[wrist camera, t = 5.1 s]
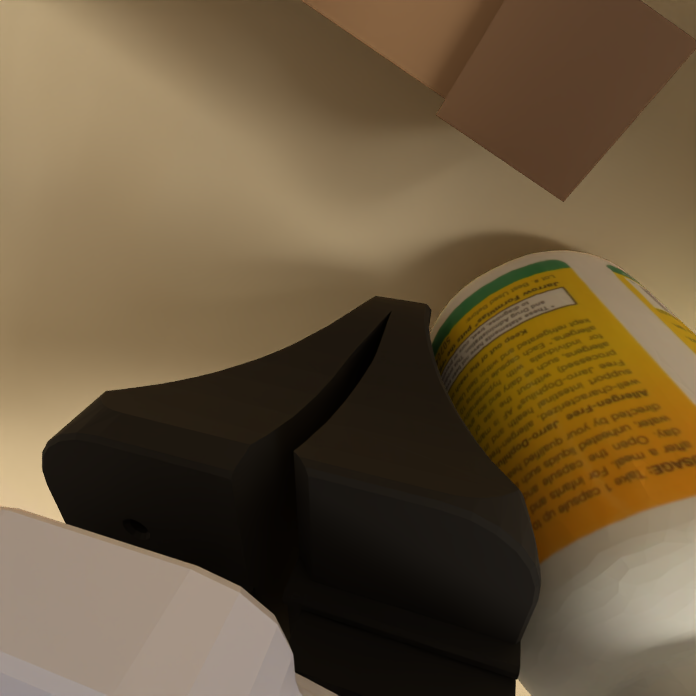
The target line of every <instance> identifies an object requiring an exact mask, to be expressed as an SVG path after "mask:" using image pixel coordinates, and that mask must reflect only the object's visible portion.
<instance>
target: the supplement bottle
mask: <svg viewBox="0 0 696 696" xmlns="http://www.w3.org/2000/svg"><path fill="white" fill-rule="evenodd" d="M430 339H431V344H432V348H433V353H434V357H435V360H436V363H437V366H438V369H439V372H440V375H441V378H442V381H443V383H444V385H445V388H446V390H447V392H448V394H449V396H450V398H451V401H452V402H453V404H454V406H455V408H456V410H457V412H458V414H459V415H460V417H461V419H462V420H463V422H464V423H465V425H466V426H467V428H468V429H469V431H470V432H471V434H472V435H473V437H474V438H475V440H476V441H477V443H478V444H479V445H480V447H481V448H482V449H483V451H484V452H485V453H486V454H487V456H488V457H489V458H490V459H491V460H492V462H493V463H494V464H495V465H496V466H497V467H498V468H499V469H500V470H501V471H502V472H503V473H504V474H505V475H506V476H507V477H508V478H509V479H510V480H511V481H512V482H513V483H514V484H515V485H516V486H517V487H518V488H519V489H520V491H521V492H522V493H523V496H524V499H525V503H526V506H527V509H528V513H529V516H530V520H531V524H532V528H533V532H534V536H535V540H536V545H537V551H538V557H539V564H540V572H541V587H540V594H539V599H538V602H537V605H536V607H535V609H534V611H533V614H532V616H531V618H530V621H529V623H528V625H527V627H526V630H525V632H524V634H523V637H522V639H521V659H520V673H519V676H518V679H519V681H520V682H521V684H522V685H523V686H524V687H525V689H526V690H527V691H528V692H529V693H530V694H531V695H532V696H696V335H695V334H694V333H693V332H692V331H691V330H690V329H689V328H688V327H686V326H685V325H684V324H683V323H682V322H681V321H680V320H679V319H678V318H677V317H676V316H675V315H674V314H673V313H672V312H671V311H670V310H668V309H667V308H666V307H665V306H664V305H663V304H662V303H661V302H660V301H658V300H657V299H656V298H655V297H654V296H653V295H652V294H651V293H650V292H649V291H648V290H646V289H645V288H644V287H643V286H642V285H641V284H639V283H638V282H637V281H636V280H635V279H634V278H633V277H631V276H630V275H629V274H628V273H627V272H625V271H624V270H623V269H622V268H620V267H618V266H617V265H615V264H614V263H612V262H610V261H608V260H606V259H603V258H601V257H598V256H595V255H592V254H588V253H584V252H577V251H570V250H556V251H544V252H538V253H532V254H528V255H525V256H522V257H519V258H516V259H513V260H511V261H508V262H506V263H504V264H502V265H500V266H498V267H496V268H494V269H492V270H490V271H488V272H486V273H484V274H483V275H481V276H479V277H477V278H476V279H474V280H473V281H472V282H470V283H469V284H468V285H466V286H465V287H464V288H462V289H461V290H460V291H459V292H458V293H457V294H456V295H455V296H454V297H453V298H452V299H451V300H450V301H449V303H448V304H447V305H446V307H445V308H444V309H443V311H442V312H441V313H440V315H439V317H438V318H437V320H436V322H435V324H434V326H433V328H432V330H431V333H430Z"/></svg>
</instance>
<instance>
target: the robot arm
mask: <svg viewBox="0 0 696 696" xmlns="http://www.w3.org/2000/svg"><path fill="white" fill-rule="evenodd" d="M430 316H431V309H430V307H429V306H428V305H427V304H422V303H416V302H410V301H404V300H397V299H391V298H385V297H379V296H375V297H373V298H371V299H370V300H368V301H367V302H365V303H364V304H362V305H360V306H359V307H357V308H356V309H354V310H353V311H351V312H350V313H348V314H346V315H345V316H343V317H342V318H340V319H338V320H337V321H335V322H334V323H332V324H330V325H329V326H327V327H325V328H323V329H321V330H320V331H318V332H316V333H314V334H312V335H310V336H308V337H307V338H305V339H303V340H301V341H299V342H297V343H295V344H293V345H291V346H289V347H286V348H284V349H282V350H280V351H277V352H275V353H272V354H270V355H267V356H265V357H262V358H260V359H257V360H254V361H251V362H248V363H244V364H241V365H238V366H235V367H232V368H228V369H225V370H222V371H219V372H215V373H211V374H207V375H203V376H199V377H194V378H189V379H185V380H180V381H175V382H169V383H164V384H158V385H150V386H143V387H136V388H128V389H121V390H112V391H106V392H104V393H103V394H102V395H101V396H100V397H99V398H97V399H96V400H95V401H94V402H93V403H92V404H90V405H89V406H88V407H87V408H86V409H85V410H84V411H82V412H81V413H80V414H79V415H78V416H77V417H75V418H74V419H73V420H72V421H71V422H70V423H69V424H67V425H66V426H65V427H64V428H63V429H62V430H60V431H59V432H58V433H57V434H56V435H55V436H54V437H52V438H51V439H50V440H49V441H48V442H47V444H46V446H45V448H44V450H43V452H42V470H43V474H44V477H45V479H46V482H47V485H48V487H49V490H50V492H51V494H52V496H53V498H54V500H55V502H56V504H57V506H58V508H59V510H60V512H61V515H62V517H63V519H64V521H65V523H66V524H65V523H62V522H59V521H56V520H53V519H50V518H46V517H43V516H40V515H37V514H34V513H31V512H28V511H25V510H21V509H17V508H9V507H0V696H515V687H516V680H517V679H518V676H519V673H520V659H521V639H522V637H523V634H524V632H525V630H526V627H527V625H528V623H529V621H530V618H531V616H532V614H533V611H534V609H535V607H536V605H537V602H538V599H539V594H540V587H541V572H540V564H539V557H538V551H537V545H536V540H535V536H534V532H533V528H532V524H531V520H530V516H529V513H528V509H527V506H526V503H525V499H524V496H523V493H522V492H521V491H520V489H519V488H518V487H517V486H516V485H515V484H514V483H513V482H512V481H511V480H510V479H509V478H508V477H507V476H506V475H505V474H504V473H503V472H502V471H501V470H500V469H499V468H498V467H497V466H496V465H495V464H494V463H493V462H492V460H491V459H490V458H489V457H488V456H487V454H486V453H485V452H484V451H483V449H482V448H481V447H480V445H479V444H478V443H477V441H476V440H475V438H474V437H473V435H472V434H471V432H470V431H469V429H468V428H467V426H466V425H465V423H464V422H463V420H462V419H461V417H460V415H459V414H458V412H457V410H456V408H455V406H454V404H453V402H452V401H451V398H450V396H449V394H448V392H447V390H446V388H445V385H444V383H443V381H442V378H441V375H440V372H439V369H438V366H437V363H436V360H435V357H434V353H433V348H432V344H431V339H430V333H429V324H430Z"/></svg>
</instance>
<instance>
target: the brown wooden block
mask: <svg viewBox="0 0 696 696" xmlns="http://www.w3.org/2000/svg"><path fill="white" fill-rule="evenodd" d="M301 1H303V2H304V3H306V4H307V5H309V6H310V7H312V8H313V9H314V10H316V11H317V12H319V13H320V14H322V15H323V16H325V17H326V18H328V19H329V20H331V21H332V22H333V23H335V24H336V25H338V26H339V27H341V28H342V29H344V30H345V31H347V32H348V33H350V34H351V35H353V36H354V37H355V38H357V39H358V40H360V41H361V42H363V43H364V44H366V45H367V46H369V47H370V48H372V49H373V50H374V51H376V52H377V53H379V54H380V55H382V56H383V57H385V58H386V59H388V60H389V61H391V62H392V63H393V64H395V65H396V66H398V67H399V68H401V69H402V70H404V71H405V72H407V73H408V74H410V75H411V76H412V77H414V78H415V79H417V80H418V81H420V82H421V83H423V84H424V85H426V86H427V87H429V88H430V89H432V90H433V91H434V92H436V93H437V94H439V95H440V96H442V97H443V98H445V100H444V102H443V104H442V105H441V107H440V109H439V110H438V112H437V114H436V115H437V116H438V117H440V118H441V119H442V120H444V121H445V122H447V123H448V124H450V125H451V126H453V127H454V128H456V129H457V130H459V131H460V132H462V133H463V134H465V135H466V136H467V137H469V138H470V139H472V140H473V141H475V142H476V143H478V144H479V145H481V146H482V147H484V148H485V149H487V150H488V151H489V152H491V153H492V154H494V155H495V156H497V157H498V158H500V159H501V160H503V161H504V162H506V163H507V164H509V165H510V166H512V167H513V168H514V169H516V170H517V171H519V172H520V173H522V174H523V175H525V176H526V177H528V178H529V179H531V180H532V181H534V182H535V183H536V184H538V185H539V186H541V187H542V188H544V189H545V190H547V191H548V192H550V193H551V194H553V195H554V196H556V197H557V198H559V199H560V200H561V201H563V202H564V201H565V200H566V198H567V197H568V196H569V195H570V194H571V193H572V191H573V190H574V189H575V188H576V187H577V186H578V185H579V183H580V182H581V181H582V180H583V179H584V178H585V176H586V175H587V174H588V173H589V172H590V171H591V170H592V168H593V167H594V166H595V165H596V164H597V163H598V161H599V160H600V159H601V158H602V157H603V156H604V154H605V153H606V152H607V151H608V150H609V149H610V148H611V146H612V145H613V144H614V143H615V142H616V141H617V139H618V138H619V137H620V136H621V135H622V134H623V133H624V131H625V130H626V129H627V128H628V127H629V126H630V124H631V123H632V122H633V121H634V120H635V119H636V118H637V116H638V115H639V114H640V113H641V112H642V111H643V109H644V108H645V107H646V106H647V105H648V104H649V103H650V101H651V100H652V99H653V98H654V97H655V96H656V94H657V93H658V92H659V91H660V90H661V89H662V88H663V86H664V85H665V84H666V83H667V82H668V81H669V79H670V78H671V77H672V76H673V75H674V74H675V72H676V71H677V70H678V69H679V68H680V67H681V66H682V64H683V63H684V62H685V61H686V60H687V59H688V57H689V56H690V55H691V54H692V53H693V52H694V51H695V49H696V40H695V39H694V38H692V37H691V36H690V35H688V34H687V33H685V32H684V31H683V30H681V29H680V28H678V27H677V26H676V25H674V24H673V23H671V22H670V21H669V20H667V19H666V18H664V17H663V16H662V15H660V14H659V13H657V12H656V11H655V10H653V9H652V8H650V7H649V6H648V5H646V4H645V3H643V2H642V1H641V0H301Z"/></svg>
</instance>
